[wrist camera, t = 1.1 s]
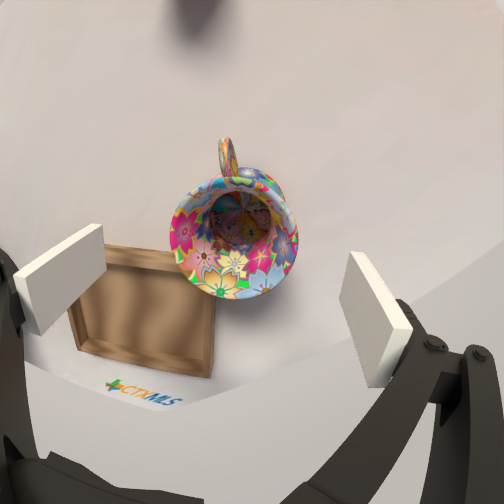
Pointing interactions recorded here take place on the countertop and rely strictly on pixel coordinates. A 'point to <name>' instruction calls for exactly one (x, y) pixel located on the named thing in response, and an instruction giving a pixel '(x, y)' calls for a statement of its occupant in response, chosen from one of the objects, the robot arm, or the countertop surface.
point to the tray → (146, 314)
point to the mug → (234, 232)
